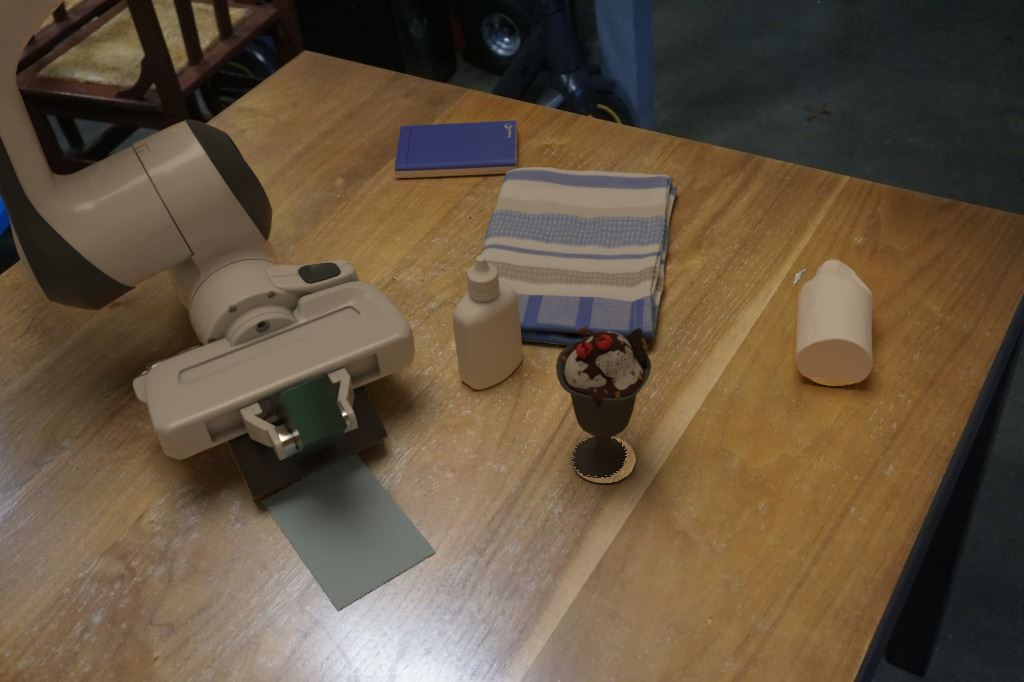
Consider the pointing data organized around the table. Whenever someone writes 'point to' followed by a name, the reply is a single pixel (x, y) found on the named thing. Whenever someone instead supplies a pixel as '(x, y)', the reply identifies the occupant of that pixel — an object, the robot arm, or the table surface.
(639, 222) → the dish towel
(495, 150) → the blue hardcover book
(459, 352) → the eye dropper bottle
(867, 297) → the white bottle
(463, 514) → the table surface
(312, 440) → the green post on base
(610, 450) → the sundae
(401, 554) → the gray rectangular card
